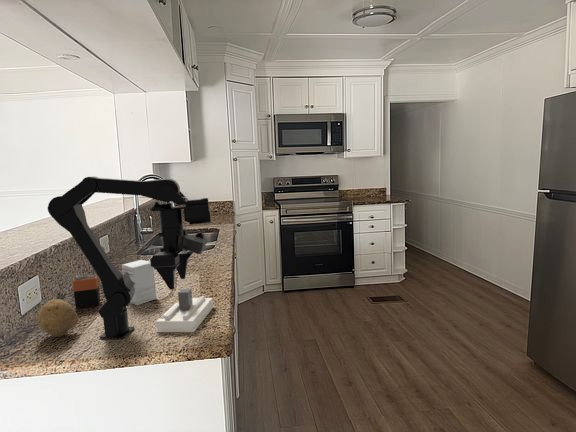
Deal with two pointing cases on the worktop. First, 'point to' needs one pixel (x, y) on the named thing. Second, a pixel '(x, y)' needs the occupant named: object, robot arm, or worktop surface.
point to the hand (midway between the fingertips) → (177, 283)
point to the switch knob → (185, 299)
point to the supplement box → (141, 281)
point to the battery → (86, 291)
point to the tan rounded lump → (57, 317)
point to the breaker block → (185, 316)
